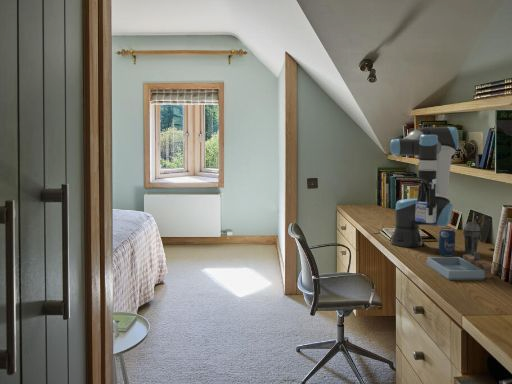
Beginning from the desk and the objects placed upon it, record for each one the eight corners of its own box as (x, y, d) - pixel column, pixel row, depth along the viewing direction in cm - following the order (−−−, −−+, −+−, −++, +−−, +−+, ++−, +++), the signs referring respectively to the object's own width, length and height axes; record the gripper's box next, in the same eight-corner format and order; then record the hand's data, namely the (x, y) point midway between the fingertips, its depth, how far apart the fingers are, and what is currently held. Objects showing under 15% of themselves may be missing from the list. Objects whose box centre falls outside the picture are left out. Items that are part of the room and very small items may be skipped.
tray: (426, 265, 213) (427, 257, 213) (459, 265, 214) (459, 257, 213) (448, 280, 191) (448, 271, 191) (484, 279, 192) (484, 270, 191)
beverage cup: (459, 254, 233) (461, 212, 230) (466, 252, 237) (468, 210, 235) (474, 257, 227) (476, 214, 225) (482, 255, 232) (484, 212, 229)
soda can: (446, 256, 228) (447, 231, 227) (435, 253, 234) (436, 228, 233) (457, 255, 231) (458, 229, 230) (446, 252, 237) (447, 227, 236)
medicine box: (414, 221, 223) (415, 202, 222) (419, 220, 226) (420, 201, 225) (431, 223, 217) (432, 203, 216) (436, 222, 220) (437, 202, 219)
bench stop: (462, 266, 212) (463, 247, 211) (469, 266, 212) (470, 247, 211) (483, 278, 194) (484, 258, 193) (490, 278, 194) (491, 257, 193)
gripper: (410, 168, 229) (409, 217, 232) (428, 171, 208) (426, 225, 211) (426, 168, 230) (425, 217, 232) (445, 171, 208) (443, 225, 211)
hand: (425, 220), depth 221 cm, fingers closed on medicine box, 9 cm apart
